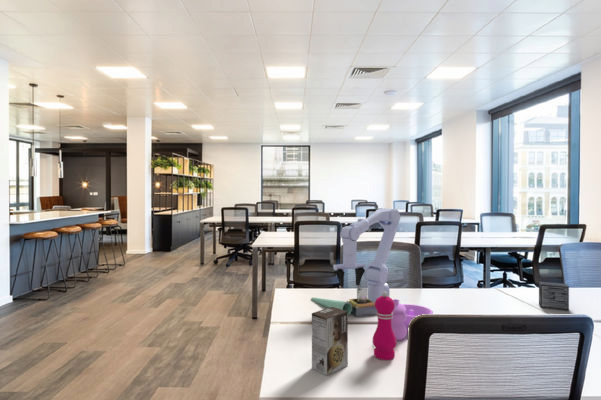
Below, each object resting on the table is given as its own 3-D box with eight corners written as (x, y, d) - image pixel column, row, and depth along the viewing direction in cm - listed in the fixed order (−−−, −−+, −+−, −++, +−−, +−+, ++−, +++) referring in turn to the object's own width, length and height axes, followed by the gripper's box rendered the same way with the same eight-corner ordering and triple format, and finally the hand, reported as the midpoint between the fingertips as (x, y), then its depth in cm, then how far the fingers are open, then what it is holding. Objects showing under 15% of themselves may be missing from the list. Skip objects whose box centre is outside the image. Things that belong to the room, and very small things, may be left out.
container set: (400, 317, 155) (400, 285, 154) (438, 326, 145) (438, 291, 145) (370, 335, 135) (371, 298, 135) (412, 346, 126) (412, 306, 125)
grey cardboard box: (332, 358, 116) (332, 306, 116) (348, 365, 111) (348, 310, 111) (310, 368, 110) (310, 312, 109) (327, 376, 105) (327, 317, 105)
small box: (566, 306, 169) (566, 283, 169) (569, 311, 163) (569, 286, 163) (538, 303, 174) (538, 281, 174) (540, 307, 168) (540, 284, 168)
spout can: (364, 301, 164) (364, 283, 163) (369, 304, 159) (369, 286, 159) (355, 302, 163) (355, 284, 162) (359, 305, 158) (359, 287, 158)
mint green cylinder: (316, 287, 181) (352, 301, 158) (316, 299, 181) (352, 314, 158) (306, 289, 179) (341, 303, 156) (306, 300, 179) (341, 316, 156)
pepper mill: (369, 351, 121) (370, 288, 121) (391, 350, 122) (392, 288, 122) (376, 361, 114) (376, 294, 114) (399, 360, 115) (400, 294, 114)
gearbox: (369, 307, 168) (369, 296, 168) (381, 314, 158) (381, 302, 158) (345, 309, 164) (346, 298, 164) (356, 316, 155) (356, 305, 155)
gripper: (360, 252, 170) (360, 282, 170) (330, 253, 166) (330, 284, 166) (368, 254, 164) (368, 286, 164) (337, 256, 159) (337, 288, 159)
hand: (349, 285), depth 164 cm, fingers open, 7 cm apart
